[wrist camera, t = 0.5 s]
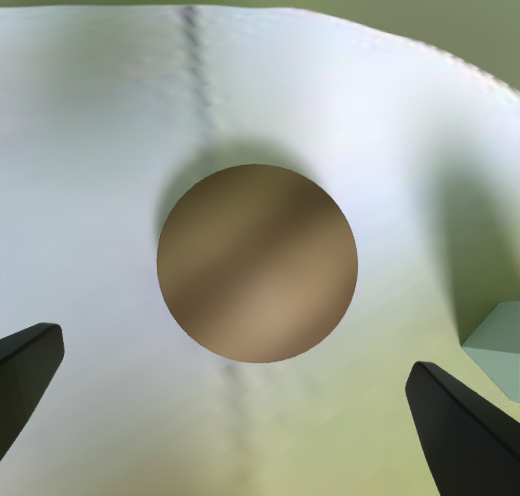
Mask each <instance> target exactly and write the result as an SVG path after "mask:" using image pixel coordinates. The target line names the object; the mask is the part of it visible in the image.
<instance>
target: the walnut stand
mask: <svg viewBox="0 0 520 496" xmlns="http://www.w3.org/2000/svg"><path fill="white" fill-rule="evenodd" d="M357 273H358V258H357V249H356V244H355V239H354V236H353V233H352V230H351V228H350V225H349V223H348V221H347V219H346V217H345V216H344V214H343V212H342V211H341V209H340V208H339V206H338V205H337V204H336V203H335V201H334V200H333V199H332V198H331V197H330V196H329V195H328V194H327V193H326V192H325V191H324V190H323V189H322V188H321V187H319V186H318V185H317V184H315V183H314V182H313V181H311V180H309V179H307V178H306V177H304V176H302V175H300V174H298V173H295V172H293V171H291V170H288V169H284V168H281V167H276V166H270V165H258V164H252V165H241V166H236V167H231V168H227V169H224V170H221V171H218V172H216V173H214V174H212V175H210V176H208V177H206V178H204V179H203V180H201V181H200V182H198V183H197V184H195V185H194V186H193V187H192V188H191V189H189V190H188V191H187V192H186V193H185V194H184V195H183V196H182V198H181V199H180V200H179V201H178V202H177V204H176V205H175V206H174V208H173V209H172V211H171V212H170V214H169V216H168V218H167V220H166V222H165V224H164V227H163V230H162V232H161V235H160V240H159V245H158V251H157V274H158V280H159V285H160V289H161V292H162V295H163V298H164V301H165V303H166V305H167V307H168V309H169V311H170V313H171V314H172V316H173V317H174V319H175V320H176V321H177V323H178V324H179V326H180V327H181V328H182V329H183V330H184V331H185V332H186V333H187V334H188V335H189V336H190V337H191V338H192V339H194V340H195V341H196V342H197V343H199V344H200V345H201V346H203V347H205V348H206V349H208V350H210V351H211V352H213V353H216V354H218V355H221V356H223V357H225V358H229V359H233V360H236V361H241V362H249V363H270V362H276V361H282V360H285V359H289V358H292V357H295V356H297V355H299V354H302V353H304V352H306V351H308V350H309V349H311V348H313V347H314V346H316V345H317V344H319V343H320V342H321V341H322V340H323V339H325V338H326V337H327V336H328V335H329V334H330V333H331V332H332V331H333V330H334V328H335V327H336V326H337V325H338V324H339V322H340V321H341V319H342V318H343V316H344V315H345V313H346V311H347V309H348V307H349V305H350V303H351V300H352V297H353V294H354V291H355V287H356V281H357Z"/></svg>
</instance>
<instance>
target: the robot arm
mask: <svg viewBox="0 0 520 496" xmlns="http://www.w3.org/2000/svg"><path fill="white" fill-rule="evenodd" d="M64 352H65V350H64V342H63V336H62V329H61V327H60V325H58V324H54V323H38V324H36V325H33V326H31V327H29V328H26V329H24V330H21V331H19V332H17V333H14V334H12V335H9V336H7V337H5V338H2V339H0V461H1V460H2V458H3V457H4V455H5V454H6V453H7V451H8V450H9V448H10V447H11V445H12V444H13V442H14V441H15V440H16V438H17V437H18V435H19V434H20V432H21V431H22V429H23V428H24V426H25V425H26V423H27V422H28V420H29V418H30V417H31V415H32V413H33V412H34V410H35V408H36V407H37V405H38V403H39V401H40V399H41V398H42V396H43V394H44V392H45V390H46V389H47V387H48V385H49V383H50V382H51V380H52V378H53V376H54V374H55V373H56V371H57V369H58V367H59V366H60V364H61V362H62V360H63V357H64ZM405 392H406V397H407V400H408V403H409V406H410V410H411V413H412V416H413V420H414V423H415V426H416V430H417V433H418V436H419V440H420V443H421V446H422V449H423V452H424V455H425V458H426V461H427V463H428V466H429V469H430V471H431V474H432V476H433V478H434V481H435V483H436V486H437V488H438V491H439V493H440V496H520V423H519V422H518V421H516V420H515V419H513V418H512V417H510V416H509V415H508V414H506V413H505V412H503V411H502V410H500V409H499V408H498V407H496V406H495V405H493V404H492V403H490V402H489V401H488V400H486V399H485V398H483V397H482V396H480V395H479V394H477V393H476V392H475V391H473V390H472V389H470V388H469V387H467V386H466V385H465V384H463V383H462V382H460V381H459V380H457V379H456V378H455V377H453V376H452V375H450V374H449V373H447V372H446V371H445V370H443V369H442V368H440V367H439V366H437V365H436V364H434V363H432V362H424V361H417V362H415V363H414V365H413V367H412V370H411V372H410V375H409V377H408V380H407V383H406V386H405Z"/></svg>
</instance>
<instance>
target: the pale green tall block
mask: <svg viewBox="0 0 520 496" xmlns="http://www.w3.org/2000/svg"><path fill="white" fill-rule="evenodd" d="M461 348H462V349H463V350H464V351H465V352H466V353H467V354H468V355H469V356H470V357H471V358H472V359H473V360H474V362H475V363H476V364H477V365H478V366H479V367H480V368H481V369H482V370H483V371H484V372H485V373H486V374H487V375H488V377H489V378H490V379H491V380H492V381H493V382H494V383H495V384H496V385H497V386H498V387H499V388H500V389H501V390H502V392H503V393H504V394H505V395H506V396H507V397H508V398H509V399H510V400H511V401H514V402H518V403H520V301H504V302H499V303H498V304H497V306H496V307H495V308H494V309H493V310H492V311H491V312H490V314H489V315H488V316H487V317H486V318H485V319H484V320H483V322H482V323H481V324H480V325H479V326H478V327H477V328H476V330H475V331H474V332H473V333H472V334H471V335H470V336H469V338H468V339H467V340H466V341H465V342H464V343H463V344H462V346H461Z"/></svg>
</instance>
